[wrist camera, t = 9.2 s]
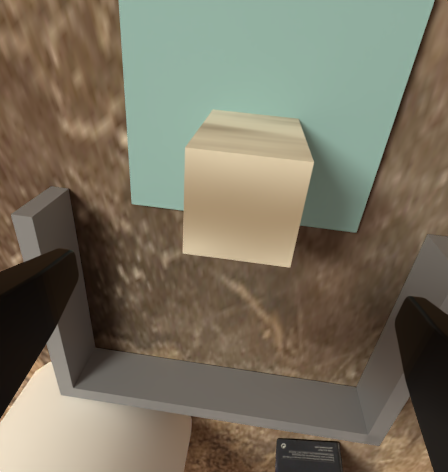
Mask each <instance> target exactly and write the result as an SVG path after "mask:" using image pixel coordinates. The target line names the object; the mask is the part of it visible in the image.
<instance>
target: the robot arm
mask: <svg viewBox="0 0 448 472" xmlns="http://www.w3.org/2000/svg"><path fill="white" fill-rule="evenodd" d="M78 279H79V271H78V265H77V259H76V254H75V252H74V251H73V250H71V249H64V248H57V249H54V250H52V251H50V252H47V253H45V254H42V255H40V256H37V257H35V258H33V259H30V260H28V261H25V262H23V263H20V264H18V265H16V266H13V267H11V268H8V269H6V270H3V271H1V272H0V418H1V417H2V415H3V413H4V412H5V410H6V408H7V407H8V405H9V404H10V402H11V400H12V399H13V397H14V395H15V394H16V392H17V391H18V389H19V387H20V386H21V384H22V382H23V381H24V379H25V378H26V376H27V374H28V373H29V371H30V369H31V368H32V366H33V364H34V363H35V361H36V360H37V358H38V356H39V355H40V353H41V351H42V350H43V348H44V347H45V345H46V343H47V342H48V340H49V338H50V337H51V335H52V333H53V332H54V330H55V328H56V326H57V324H58V322H59V320H60V318H61V316H62V314H63V312H64V310H65V308H66V306H67V304H68V301H69V299H70V297H71V295H72V293H73V291H74V289H75V287H76V284H77V282H78ZM395 331H396V336H397V341H398V346H399V352H400V357H401V362H402V367H403V372H404V376H405V381H406V384H407V388H408V391H409V394H410V397H411V400H412V404H413V407H414V410H415V413H416V416H417V419H418V423H419V426H420V429H421V432H422V435H423V438H424V442H425V445H426V448H427V451H428V454H429V458H430V461H431V464H432V467H433V470H434V472H448V314H446V313H445V312H443V311H442V310H441V309H439V308H438V307H437V306H435V305H434V304H433V303H431V302H430V301H429V300H427V299H426V298H423V297H417V296H407V297H406V298H405V299H404V301H403V303H402V305H401V307H400V309H399V312H398V314H397V316H396V318H395Z"/></svg>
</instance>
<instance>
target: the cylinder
mask: <svg viewBox="0 0 448 472" xmlns="http://www.w3.org/2000/svg"><path fill="white" fill-rule="evenodd" d="M191 429H192V419H191V416H189V415H182V414H176V413H170V412H164V411H157V410H151V409H145V408H139V407H132V406H126V405H120V404H114V403H107V402H101V401H95V400H89V399H82V398H76V397H70V396H63V395H61V394H60V391H59V387H58V383H57V380H56V376H55V372H54V369H53V365H52V362H49V363H47V364H46V365H44V366H43V367H41V368H40V369H38V370H37V371H36V372H35V373H34V375H33V376H32V378H31V379H30V380H29V382H28V383H27V385H26V386H25V388H24V389H23V391H22V392H21V394H20V395H19V396H18V398H17V399H16V401H15V402H14V404H13V405H12V407H11V408H10V409H9V411H8V412H7V414H6V415H5V417H4V418H3V420H2V421H1V423H0V472H184V468H185V463H186V457H187V452H188V447H189V442H190V437H191Z"/></svg>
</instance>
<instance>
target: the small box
mask: <svg viewBox="0 0 448 472" xmlns="http://www.w3.org/2000/svg"><path fill="white" fill-rule="evenodd" d="M275 472H343V467H342V459H341V453H340V444H339V443H337V442H321V441H306V440H292V439H277V445H276V464H275Z"/></svg>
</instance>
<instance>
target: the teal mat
mask: <svg viewBox="0 0 448 472" xmlns="http://www.w3.org/2000/svg"><path fill="white" fill-rule="evenodd" d="M434 1H435V0H119V12H120V27H121V43H122V58H123V74H124V90H125V105H126V121H127V136H128V152H129V168H130V183H131V199H132V204H136V205H144V206H152V207H160V208H168V209H175V210H183V211H184V173H185V147H186V146H187V144H188V143H189V141H190V140H191V139H192V137H193V136H194V135H195V133H196V132H197V130H198V129H199V128H200V126H201V125H202V124H203V122H204V121H205V120H206V118H207V117H208V115H209V114H210V113H211V111H212V110H213V109H214V110H223V111H232V112H241V113H251V114H260V115H269V116H278V117H287V118H297V119H299V122H300V124H301V127H302V130H303V133H304V136H305V138H306V141H307V144H308V147H309V149H310V152H311V155H312V158H313V161H314V165H313V169H312V174H311V178H310V182H309V187H308V191H307V196H306V200H305V204H304V209H303V213H302V218H301V222H300V226H308V227H316V228H324V229H332V230H339V231H347V232H355V233H356V232H357V229H358V226H359V223H360V220H361V218H362V215H363V212H364V209H365V206H366V203H367V200H368V197H369V194H370V191H371V188H372V185H373V182H374V179H375V176H376V173H377V170H378V167H379V164H380V161H381V158H382V155H383V152H384V149H385V146H386V143H387V140H388V137H389V134H390V131H391V128H392V125H393V123H394V120H395V117H396V114H397V111H398V108H399V105H400V102H401V99H402V96H403V93H404V90H405V87H406V84H407V81H408V78H409V75H410V72H411V69H412V66H413V63H414V60H415V57H416V54H417V51H418V48H419V45H420V42H421V39H422V36H423V33H424V31H425V28H426V25H427V22H428V19H429V16H430V13H431V10H432V7H433V4H434Z"/></svg>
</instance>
